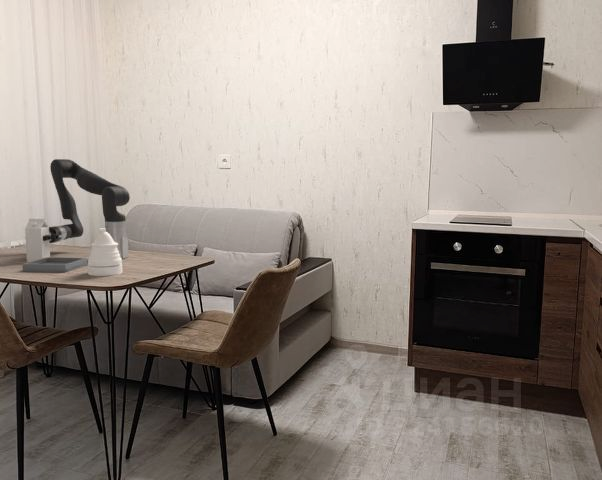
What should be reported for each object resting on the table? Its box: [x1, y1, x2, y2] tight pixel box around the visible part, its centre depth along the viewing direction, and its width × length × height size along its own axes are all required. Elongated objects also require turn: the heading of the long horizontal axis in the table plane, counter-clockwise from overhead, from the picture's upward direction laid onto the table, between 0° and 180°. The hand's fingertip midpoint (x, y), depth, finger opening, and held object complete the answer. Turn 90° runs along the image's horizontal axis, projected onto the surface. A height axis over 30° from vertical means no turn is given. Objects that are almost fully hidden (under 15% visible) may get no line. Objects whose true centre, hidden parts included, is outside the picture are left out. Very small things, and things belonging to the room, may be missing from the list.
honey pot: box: [87, 227, 123, 277], centre depth 219 cm, size 13×13×18 cm
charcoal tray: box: [22, 256, 88, 273], centre depth 230 cm, size 18×18×3 cm
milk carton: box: [24, 218, 51, 263], centre depth 247 cm, size 7×7×19 cm
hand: (35, 238), depth 244 cm, fingers closed on milk carton, 7 cm apart
